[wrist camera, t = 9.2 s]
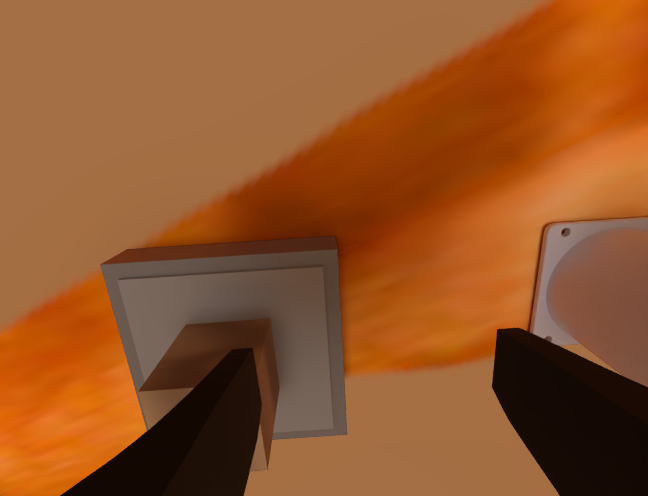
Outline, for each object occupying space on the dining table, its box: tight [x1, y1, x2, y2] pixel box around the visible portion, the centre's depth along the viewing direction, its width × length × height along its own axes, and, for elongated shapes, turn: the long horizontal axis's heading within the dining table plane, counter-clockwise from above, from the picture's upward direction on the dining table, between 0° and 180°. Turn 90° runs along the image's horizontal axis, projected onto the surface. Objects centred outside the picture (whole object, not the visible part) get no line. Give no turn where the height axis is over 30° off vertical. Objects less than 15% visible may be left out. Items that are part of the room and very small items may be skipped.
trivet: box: [100, 236, 347, 440], centre depth 20 cm, size 12×12×3 cm
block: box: [138, 318, 280, 471], centre depth 16 cm, size 4×4×5 cm
